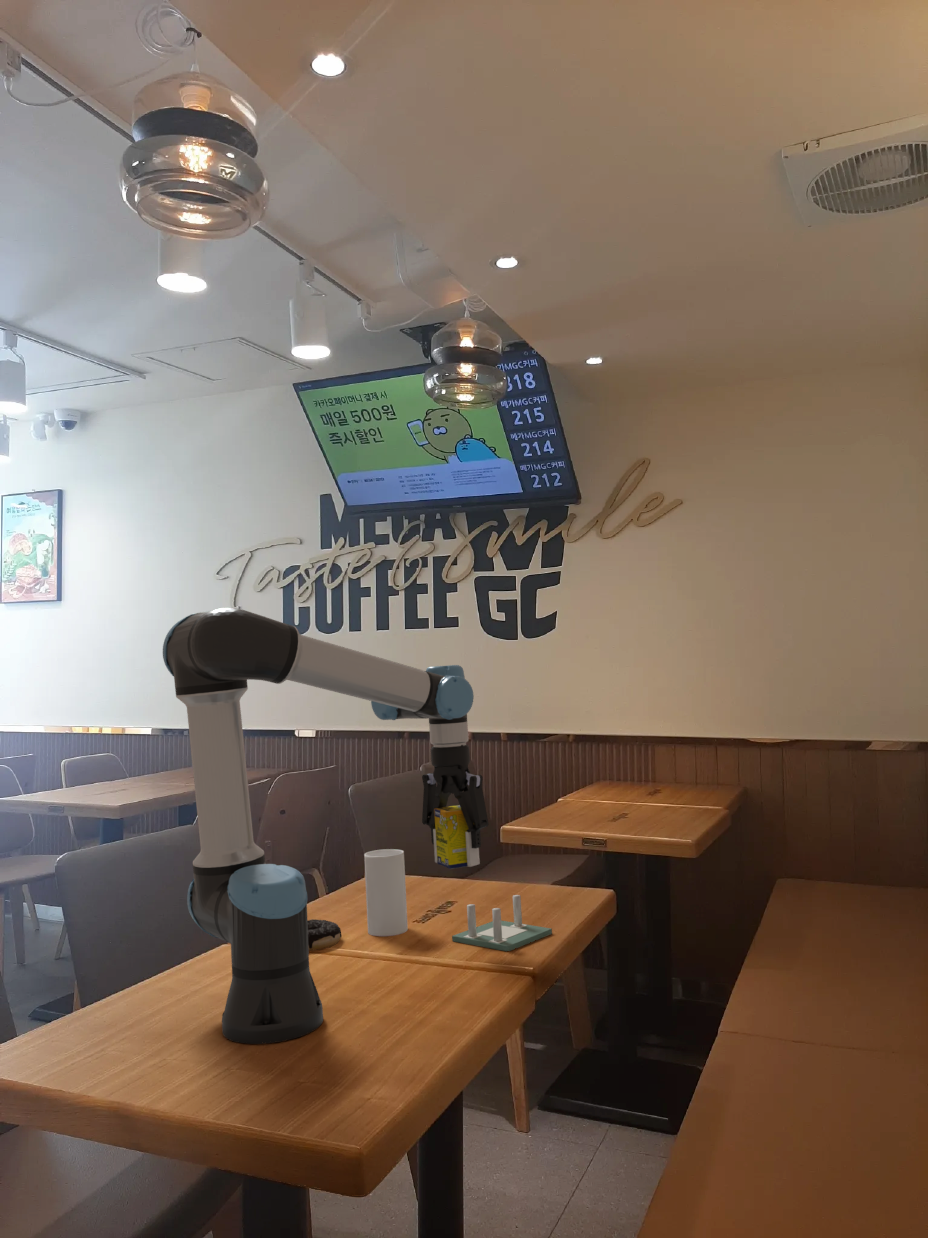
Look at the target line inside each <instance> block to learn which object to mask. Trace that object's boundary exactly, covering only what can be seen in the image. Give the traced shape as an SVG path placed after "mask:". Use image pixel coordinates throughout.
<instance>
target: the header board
mask: <svg viewBox="0 0 928 1238" xmlns="http://www.w3.org/2000/svg"><path fill="white" fill-rule="evenodd" d="M521 899H522V898H521V895H520V894H513V895H512V906H513V907H512V909H513V921H507V920H502V911H501V910H502V909H501V908H499V907H495V908H491V911H492V912H491V913H492V921H490V922H486V923H483V924H481V925H479V926H477V917H476V915H477V913H476V904H472V903H471V904H467V905H466V912H467V913H466V914H467V915H466V916H467V929H466V930H465V931H462V932H459V933H456V934H454V935H451V939H452V940H451V941H452V942H456V943H460V944H466V945H471V946H477V947H481V948H487V949H491V950H496V951H497V950H498V951H503V952H507V951H509V952H510V951H513V950H515V948H516V949H518V948H520V947H523V946H525V945H526V946H527V945H528V944H531V943H533V942H536V941H538V940H540V939H542V938H545V937H548V936H550V935H552V934H553V928H552V927H551V928H549V927H544V926H537V925H532V924H525V923H523V917H522V900H521ZM535 940H536V941H535ZM530 942H531V943H530Z"/></svg>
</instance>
